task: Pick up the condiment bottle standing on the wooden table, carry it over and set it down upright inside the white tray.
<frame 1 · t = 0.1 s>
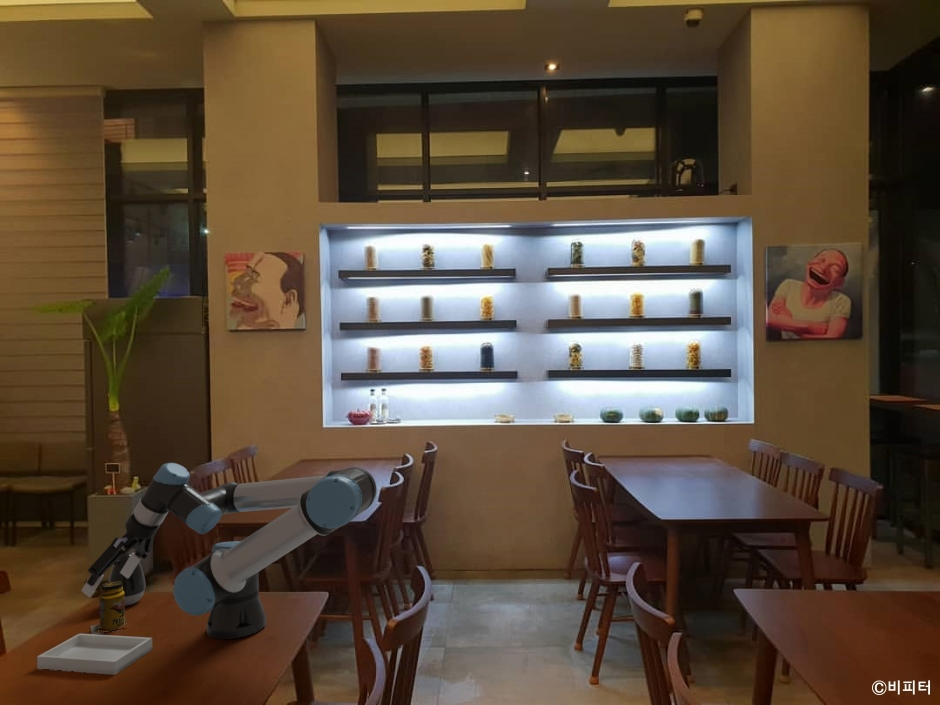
hand: (106, 584, 168), 15 cm above the table, tool tilted 35°, fingers open, 13 cm apart
white tray: (96, 659, 159), on the table
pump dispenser: (126, 603, 196), on the table
condiment: (109, 628, 178), on the table
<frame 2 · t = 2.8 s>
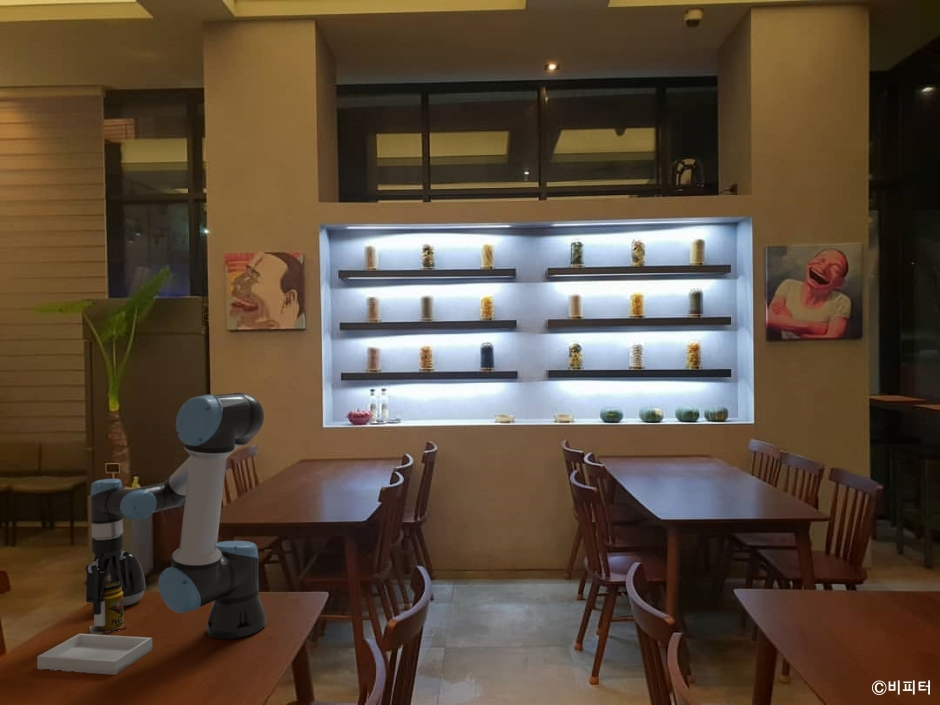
hand: (109, 620, 178), 2 cm above the table, tool pointing down, fingers closed on condiment, 6 cm apart
condiment: (107, 629, 177), on the table, touching gripper
everything else where it was.
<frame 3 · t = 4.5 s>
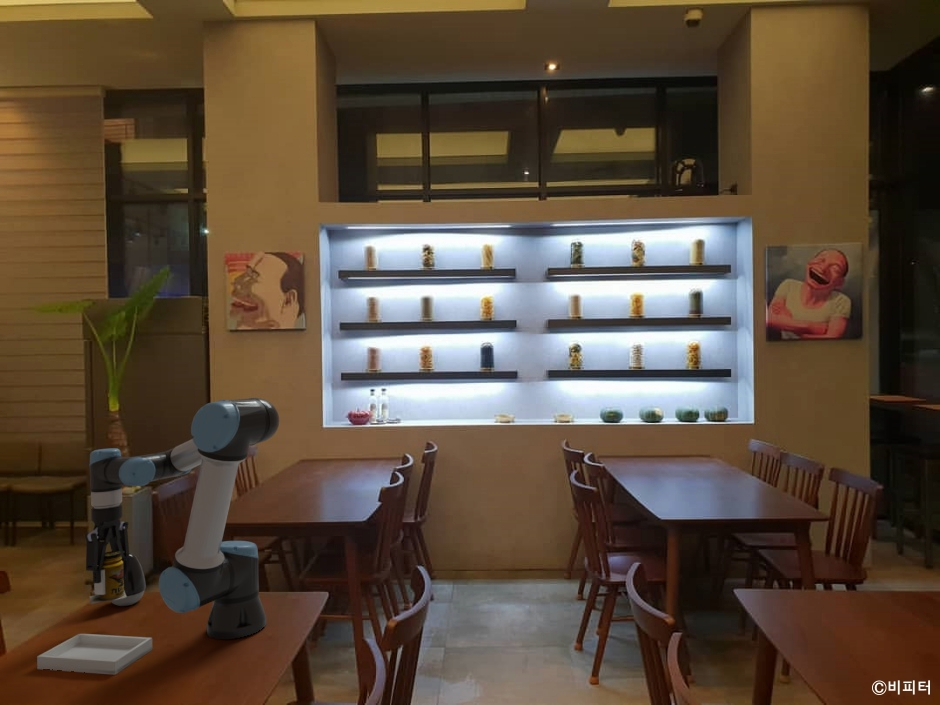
hand: (109, 589, 178), 10 cm above the table, tool pointing down, fingers closed on condiment, 6 cm apart
condiment: (108, 598, 177), point 8 cm above the table, touching gripper
everything else where it was.
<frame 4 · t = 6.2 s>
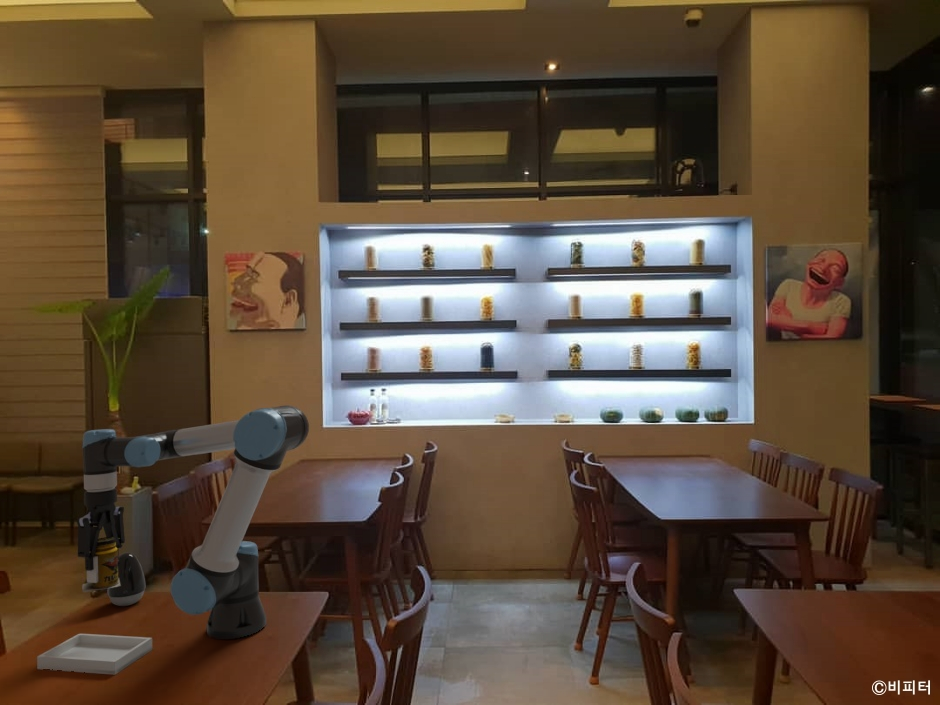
hand: (102, 577, 169), 17 cm above the table, tool pointing down, fingers closed on condiment, 6 cm apart
condiment: (101, 586, 168), point 14 cm above the table, touching gripper
everything else where it was.
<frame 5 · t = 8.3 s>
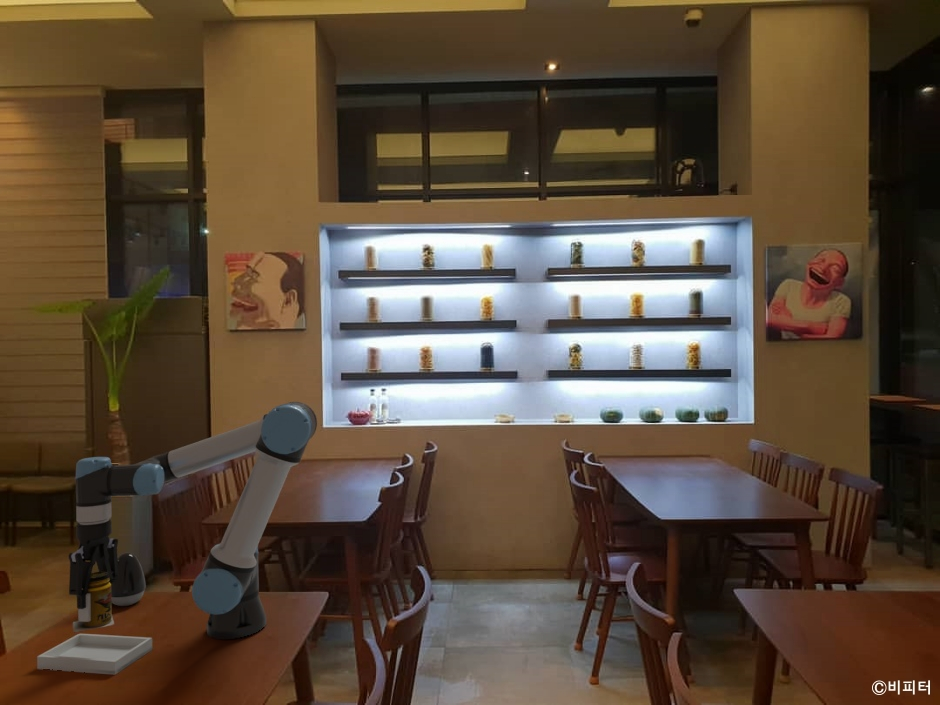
hand: (95, 615, 159), 11 cm above the table, tool pointing down, fingers closed on condiment, 6 cm apart
condiment: (93, 625, 158), point 9 cm above the table, touching gripper
everything else where it was.
when the fingers open (4 cm above the table, at t = 9.8 s): condiment stays where it is, resting on white tray.
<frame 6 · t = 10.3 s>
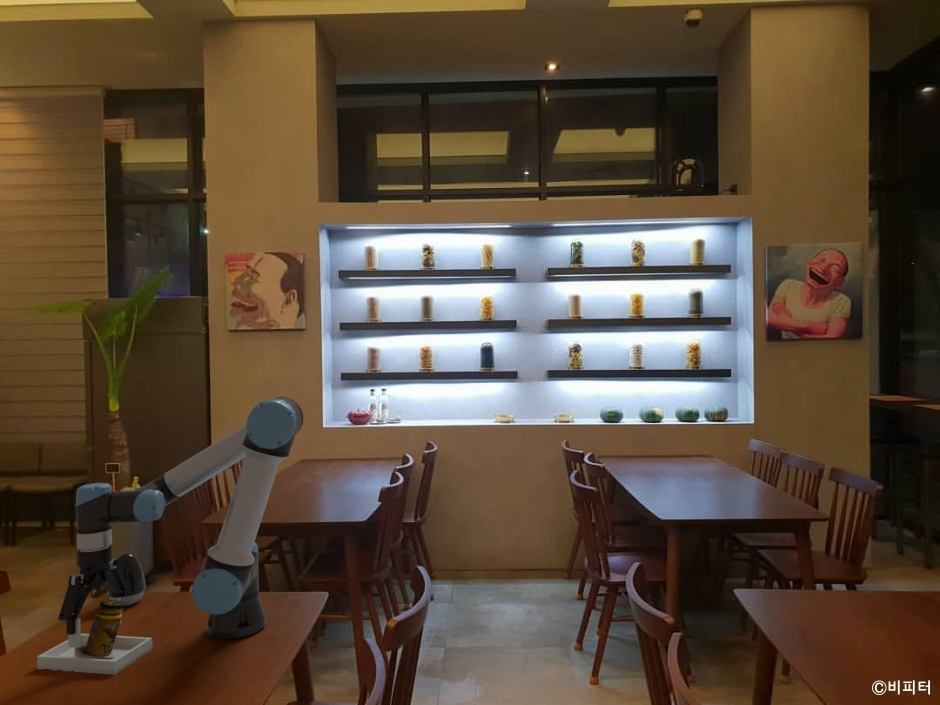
hand: (96, 634, 159), 6 cm above the table, tool pointing down, fingers open, 13 cm apart
condiment: (93, 653, 158), point 2 cm above the table, touching white tray
everything else where it was.
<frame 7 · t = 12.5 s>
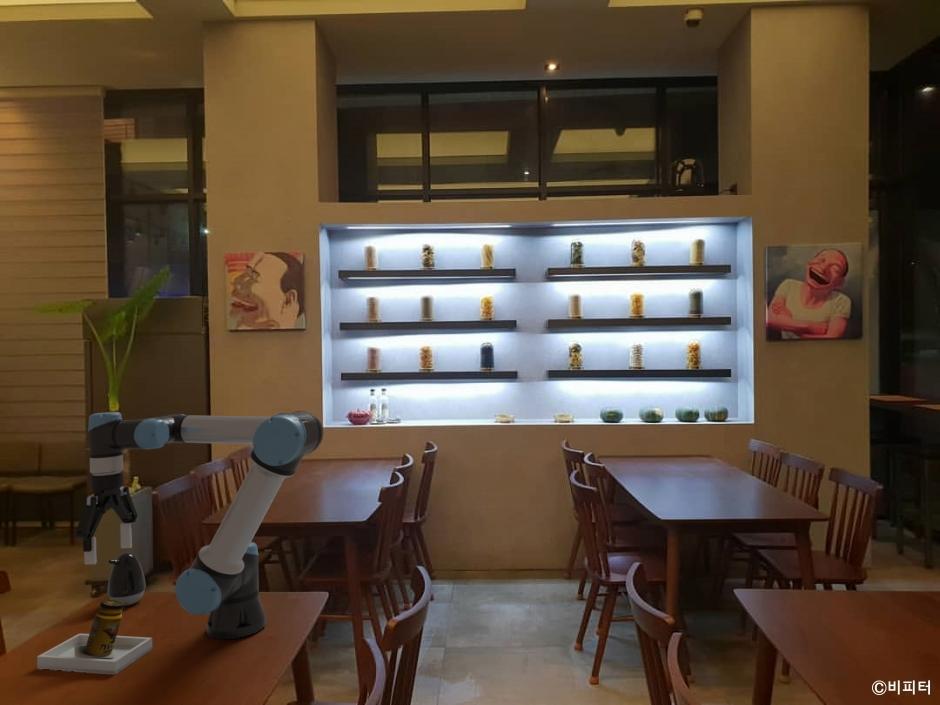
hand: (109, 555, 166), 23 cm above the table, tool pointing down, fingers open, 13 cm apart
nothing on the table moved.
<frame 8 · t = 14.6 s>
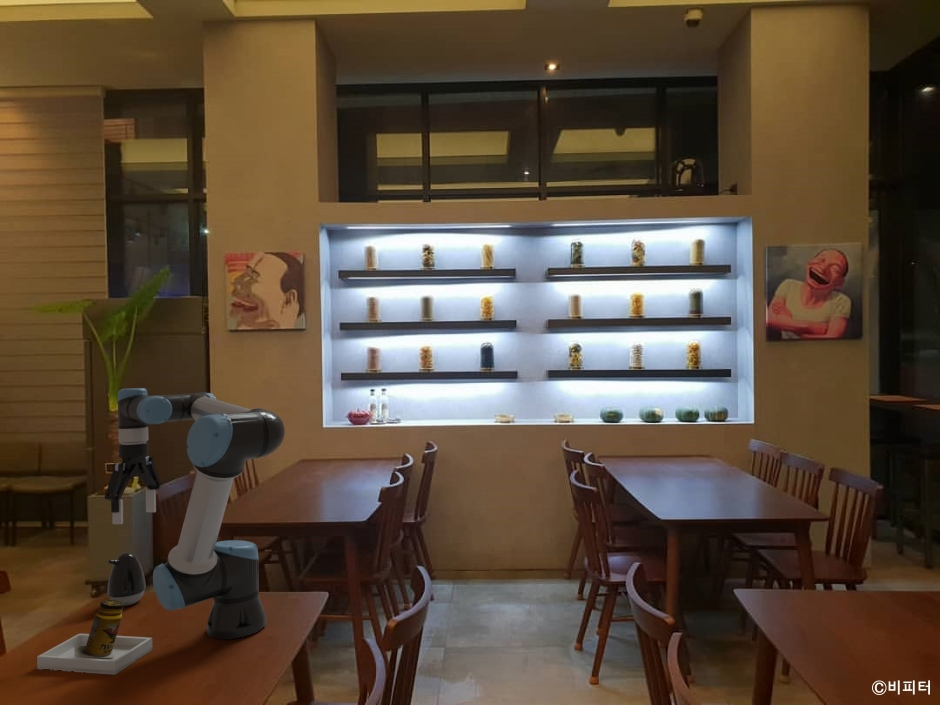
hand: (135, 517, 183), 29 cm above the table, tool pointing down, fingers open, 13 cm apart
nothing on the table moved.
at the end: condiment inside the target area on the white tray (0.7 cm from its centre), point 1.8 cm above the white tray's base; condiment tilted 16°; the gripper is holding nothing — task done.
